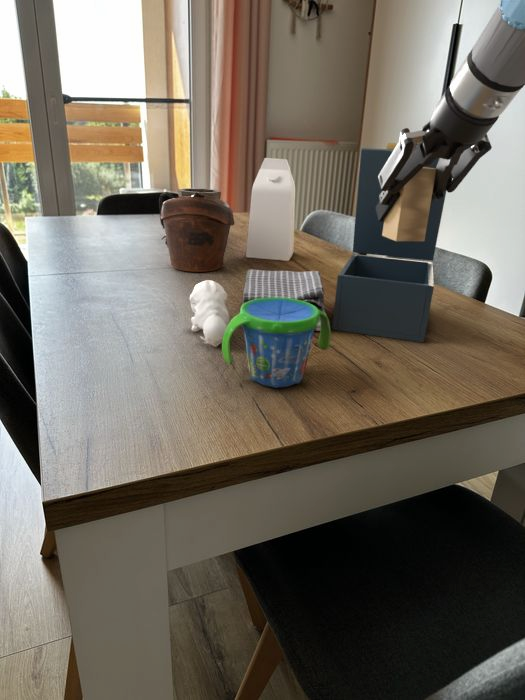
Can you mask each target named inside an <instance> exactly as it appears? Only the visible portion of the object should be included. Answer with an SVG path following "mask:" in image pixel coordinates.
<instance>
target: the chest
mask: <svg viewBox="0 0 525 700" xmlns="http://www.w3.org/2000/svg"><path fill="white" fill-rule="evenodd" d="M434 279H435V278H434V264H433V262H432V261H426V260H417V259H407V258H398V257H388V256H379V255H369V254H360V253H352V254H351V255H350V257H349V258H348V260H347V261H346V263H345V264H344V266H343V267H342V269H341V270H340V271H339V273H338V275H337V279H336V289H335V298H334V307H333V317H332V325H331V326H332V327H331V330H333V331H340V332H347V333H353V334H361V335H368V336H375V337H381V338H382V337H383V338H389V339H395V340H401V341H408V342H409V341H411V342H418V343H422V344H423V343H425V339H426V333H427V327H428V322H429V316H430V311H431V306H432V300H433V293H434V289H435V281H434Z"/></svg>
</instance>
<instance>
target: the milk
mask: <svg viewBox="0 0 525 700" xmlns="http://www.w3.org/2000/svg"><path fill="white" fill-rule="evenodd" d="M295 213H296V185H295V181H294V178H293V173H292V171H291V167H290V165H289V161H288V159H286V158H273V157H272V158H271V157H264V158H263V161H262V163H261V165H260V168H259V169H258V172H257V175H256V177H255V179H254V181H253V184H252V188H251V196H250V207H249V216H248V217H249V218H248V230H247V241H246V252H245V257H246V258H253V259H263V260H275V261H284V262H285V261H286V262H287V261H290V259H291V258H292V256H293V255H294V253H295V251H294V249H295V248H294V247H295V216H296V215H295Z"/></svg>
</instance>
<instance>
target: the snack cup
mask: <svg viewBox="0 0 525 700" xmlns="http://www.w3.org/2000/svg"><path fill="white" fill-rule="evenodd" d="M326 315H327V314H326ZM326 315H325V314H324V313H323V312H321V311H320V310H318V308H317V307H315V306H314V305H312V304H310V303H307V302H304V301H301V300H296V299H290V298H260V299H255V300H251V301H248V302H246V303H244V304H243V305H242V304H241V306H240V310H239V313H238V314H236V315H235V316H234V317H233V318H231V320H229V323H228V324H227V328H226V331H225V333H224V336H223V341H222V343H221V352H222V356H223V358H224V360H225V362H226V363H227V364H228V365H232V364H233V360H232V352H231V351H232V350H231V339H232V336H233V334H234V333H235V332H236V331H237V330H238V329H239V327H240V326H242V329H243V333H244V342H245V349H246V358H247V367H248V372H249V376H250V378H251V380H252V381H253V382H256V383H258V384H260V385H263V386H265V387H271V388H275V389H278V388H287V387H290V386H293V385H297V384H300V383H301V381H302V379H303V378H304V376H305V372H306V369H307V364H308V361H309V355H310V352H311V347H312V343H313V339H314V332H315V330H314V329H315V327H316V326H317V324H318V322H319V316H320V317H321V326H320V331H319V336H318V341H317V344H318V347H319V349H321V350H323V351H326V350H328V349H329V347H330V345H331V339H332V338H331V337H332V335H331V333H332V332H331V330H332V329H331V324H330V323H331V322H330V320H329V317H328V315H327V316H326Z"/></svg>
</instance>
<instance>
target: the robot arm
mask: <svg viewBox="0 0 525 700" xmlns="http://www.w3.org/2000/svg"><path fill="white" fill-rule="evenodd" d="M524 86H525V0H500V1H499V4H498V5H497V7H496V9H495V10H494V11H493V14H492V15H491V16H490V19H489V20H488V22H487V23H486V25H485V27H484V28H483V30H482V32H481V33H480V35H479V37H477V40H476V42H475V43H474V45H473V46H472V48H471V50H470V51H469V53H468V54H467V56H466V57H465V59H464V60H463V62H462V63H461V65H460V66H459V68H458V70H457V71H456V73H455V74H454V76H453V77H452V79H451V81H450V85H448V86H447V88H446V90H445V91H444V92H443V94H442V95H441V97H440V99H439V101H438V102H437V104H436V105H435V107H434V110H433V112H432V116H431V119H430V120H429V121H428V122H427V123H426V124H424V125H423V126H422V127H421V130H416V131H412V132H411V131H410V129H409V128H408V127H405V128H403V129H401V130H400V133H399V138H398V142H397V143H398V144H397V146H396V147H395V149H394V151H393V152H392V154H391V155H390V157H389V159H388V160H387V162H386V164H385V165H384V167H383V169H382V170H381V172H380V174H379V175H378V178H379V182H380V186H381V189H382V192H381V194H380V195H379V199H380V201H379V203H378V204H377V206H376V207H375V209H376V212H377V216H378V220H379V221H384V219H385V217H386V216H387V215H388V213H389V212H390V210H391V209H392V207H393V206H394V204H395V203H396V201H397V200H398V198H399V197H400V192H399V190H400V189H401V188H403V187H404V186H405V185H406V184H407V183H408V182H409V181H410V180H411V179H412V178H413V177H414V176H415V175H416V174H417V173H418V172H419V171H420V170H421V169H422V168H423V167H424V166H425V165H427V166H429V165H430V164H431V163H432V162H433V161H434V160H435V159H436V158H440V159H439V162H438V164H437V167H436V174H435V180H434V186H433V192H432V198H431V203H432V202H433V200H434V199H435V198H436V199H441V198H443V197H444V195H443V191H446V193H453V192H454V191H455V190H457V188H458V187H459V186H460V184H461V183H462V182H463V180H464V179H465V178H466V177H467V175H468V174H469V173H470V172H471V170H472V169H473V168H474V166H475V165H476V164H477V163H478V162H479V160H480V159H481V158H483V156H485V155H487V153H488V152H490V151H491V150H492V144H491V142H490V139H489V137H488V133H489V131H490V130H491V129H492V128H493V126H495V124H496V122H497V121H498V119H499V118H500V116H501V115H502V114H503V113H504V112H505V110H506V109H507V108H508V106H510V104H511V103H512V101H513V100H514V99H515V98H516V96H517V95H518V94H519V92H520V91H521V90H522V89H523V88H524ZM414 150H415V151H414ZM412 151H414V152H413V153H412Z"/></svg>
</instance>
